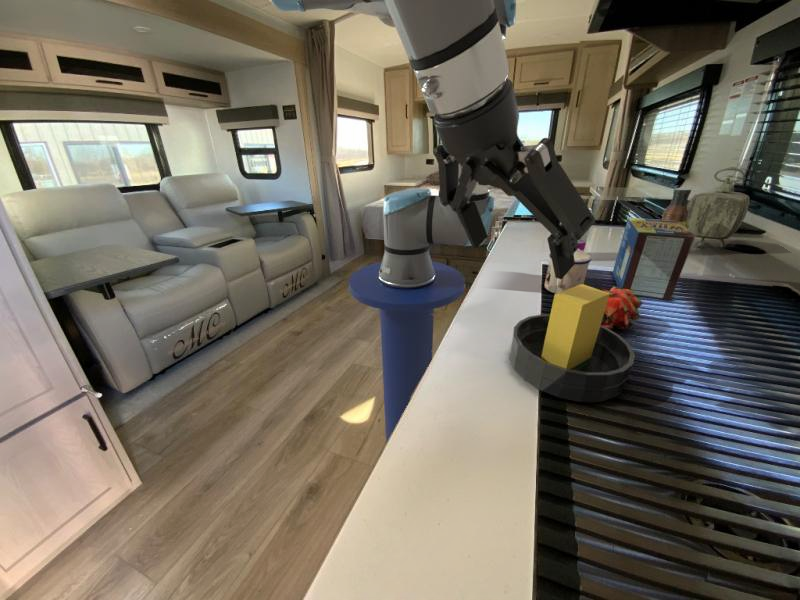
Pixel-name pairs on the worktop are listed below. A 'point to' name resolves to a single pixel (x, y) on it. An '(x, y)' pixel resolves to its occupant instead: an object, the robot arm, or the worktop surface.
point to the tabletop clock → (717, 211)
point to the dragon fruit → (621, 309)
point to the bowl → (583, 385)
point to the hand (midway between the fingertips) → (518, 254)
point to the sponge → (574, 326)
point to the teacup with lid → (568, 274)
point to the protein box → (652, 257)
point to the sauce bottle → (678, 206)
